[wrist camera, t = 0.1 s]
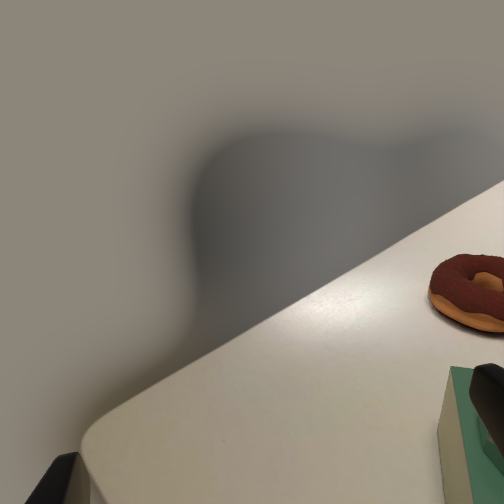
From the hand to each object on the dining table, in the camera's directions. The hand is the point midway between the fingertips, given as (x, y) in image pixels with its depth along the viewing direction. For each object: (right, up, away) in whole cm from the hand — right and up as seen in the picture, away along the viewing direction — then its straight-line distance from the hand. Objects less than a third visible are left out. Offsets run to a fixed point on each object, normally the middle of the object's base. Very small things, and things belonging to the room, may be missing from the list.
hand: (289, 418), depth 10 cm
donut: (+21, -2, +32) cm, 38 cm away
